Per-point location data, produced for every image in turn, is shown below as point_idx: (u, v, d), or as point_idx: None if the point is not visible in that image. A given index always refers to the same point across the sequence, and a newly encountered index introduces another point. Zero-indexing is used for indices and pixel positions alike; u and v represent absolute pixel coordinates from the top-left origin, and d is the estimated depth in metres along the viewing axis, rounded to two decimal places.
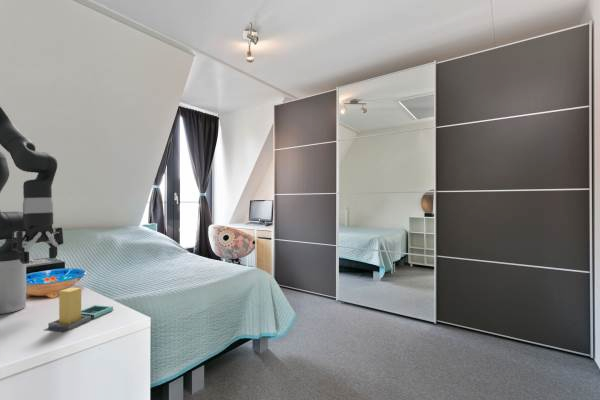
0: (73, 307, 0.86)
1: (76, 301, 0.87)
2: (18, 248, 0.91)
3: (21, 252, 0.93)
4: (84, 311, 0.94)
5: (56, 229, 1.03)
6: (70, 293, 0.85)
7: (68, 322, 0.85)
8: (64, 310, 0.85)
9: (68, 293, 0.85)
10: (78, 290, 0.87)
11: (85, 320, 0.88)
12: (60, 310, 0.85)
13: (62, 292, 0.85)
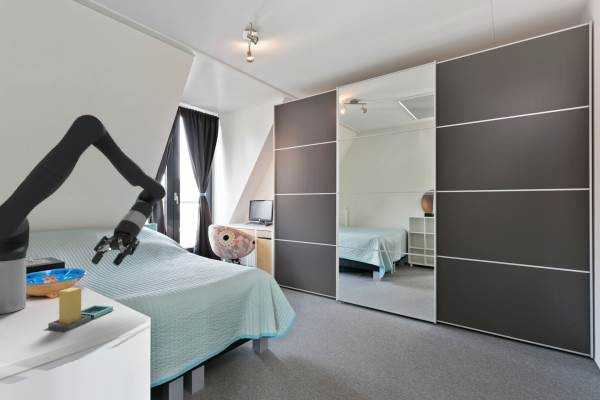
0: (73, 307, 0.86)
1: (76, 301, 0.87)
2: None
3: (124, 255, 0.99)
4: (84, 311, 0.94)
5: None
6: (70, 293, 0.85)
7: (68, 322, 0.85)
8: (64, 310, 0.85)
9: (68, 293, 0.85)
10: (78, 290, 0.87)
11: (85, 320, 0.88)
12: (60, 310, 0.85)
13: (62, 292, 0.85)
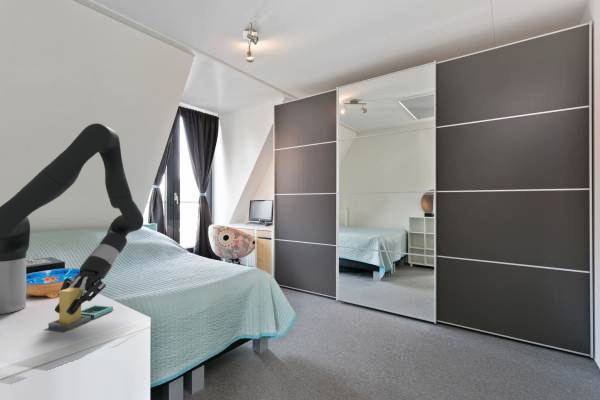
0: None
1: None
2: None
3: (81, 301, 0.87)
4: (84, 311, 0.94)
5: None
6: (70, 293, 0.85)
7: (68, 322, 0.85)
8: (64, 310, 0.85)
9: (68, 293, 0.85)
10: (78, 290, 0.87)
11: (85, 320, 0.88)
12: (60, 310, 0.85)
13: (62, 292, 0.85)
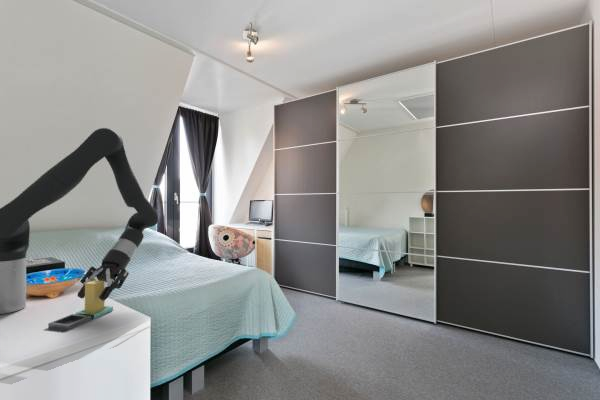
0: (97, 298, 0.93)
1: (100, 292, 0.94)
2: None
3: (111, 288, 0.95)
4: (84, 311, 0.94)
5: None
6: (95, 285, 0.93)
7: (93, 311, 0.92)
8: (89, 301, 0.93)
9: (93, 285, 0.92)
10: (102, 282, 0.95)
11: (85, 320, 0.88)
12: (86, 301, 0.93)
13: (87, 284, 0.93)
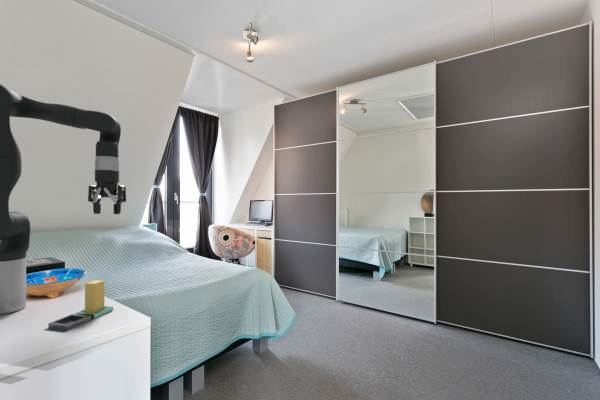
0: (97, 298, 0.93)
1: (100, 292, 0.94)
2: None
3: (119, 204, 1.08)
4: (84, 311, 0.94)
5: None
6: (95, 285, 0.93)
7: (93, 311, 0.92)
8: (89, 301, 0.93)
9: (93, 285, 0.92)
10: (102, 282, 0.95)
11: (85, 320, 0.88)
12: (86, 301, 0.93)
13: (87, 284, 0.93)
